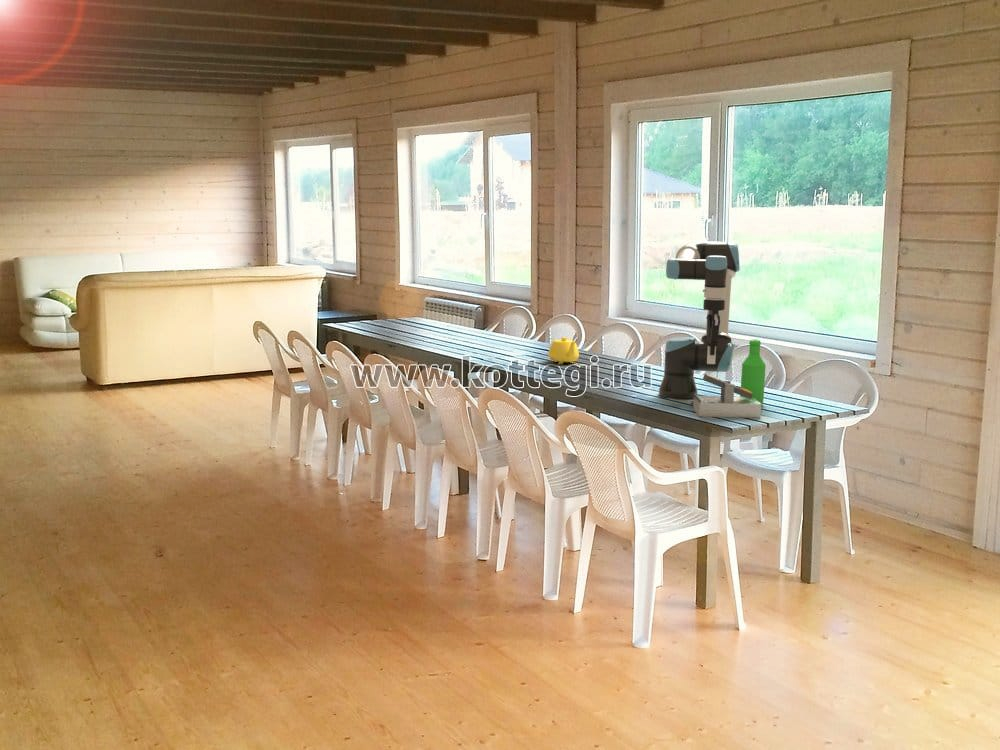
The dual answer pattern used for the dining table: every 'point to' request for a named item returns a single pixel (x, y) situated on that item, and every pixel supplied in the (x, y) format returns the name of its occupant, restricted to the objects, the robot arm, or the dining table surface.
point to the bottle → (754, 372)
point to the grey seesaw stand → (726, 405)
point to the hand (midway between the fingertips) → (711, 363)
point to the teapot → (563, 350)
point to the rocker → (721, 383)
